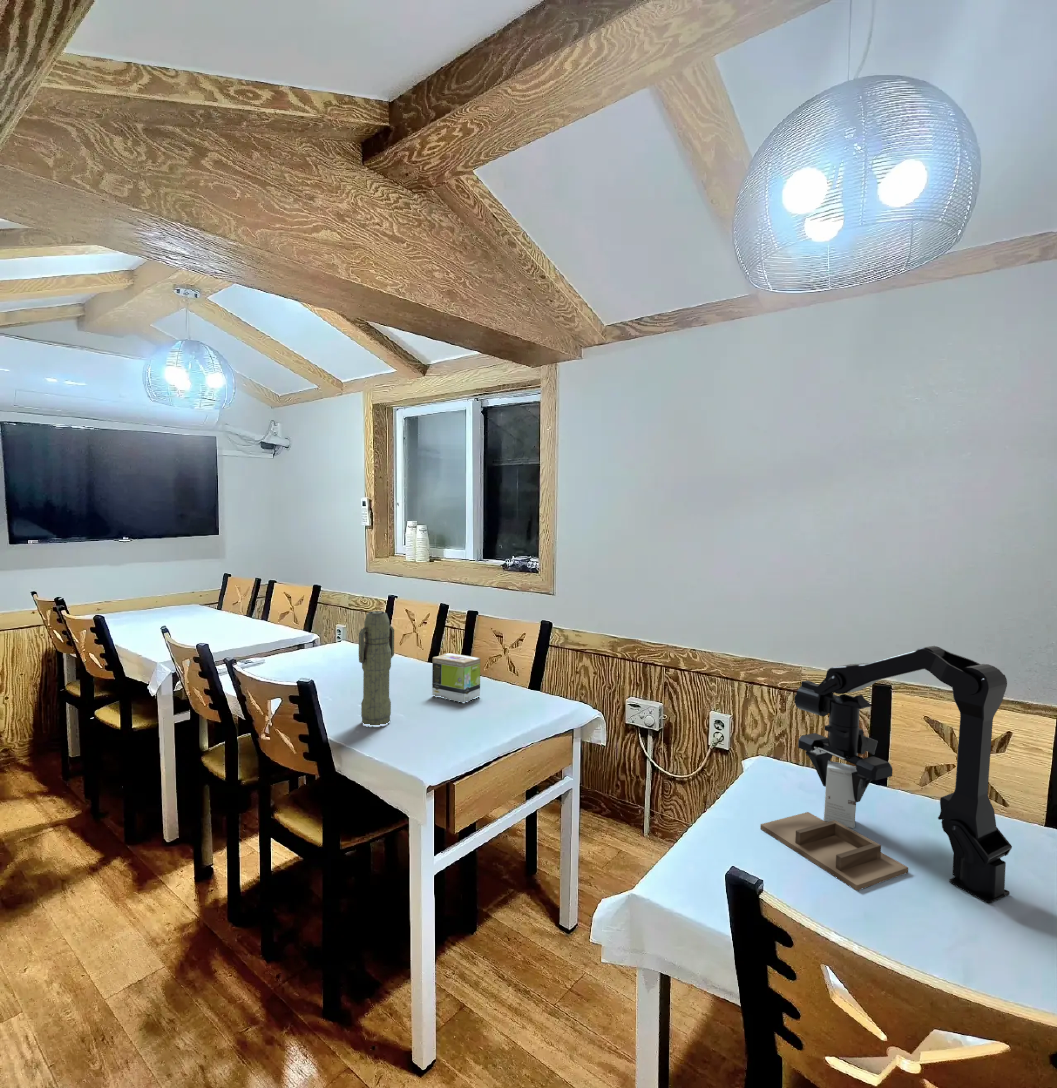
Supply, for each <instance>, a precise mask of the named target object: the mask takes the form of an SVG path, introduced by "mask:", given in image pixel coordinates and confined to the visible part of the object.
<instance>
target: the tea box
mask: <svg viewBox="0 0 1057 1088" xmlns="http://www.w3.org/2000/svg"><path fill="white" fill-rule="evenodd" d="M431 673H432V675H431V678H432V679H431V680H432V684H431V685H432V686H431V687H432V688H431V691H432V692H431V693H432V694H431V696H432V695H435V696H441V697H444V698H447V699H451V700H454V701H453V702H455V701H460V702H466V701H470V700H471V699H473V698H475V697H477V696H480V697H481V657H477V656H470V655H465V654H459V653H451V652H449V653H443V654H441V655H438V656H433V657H432V672H431ZM470 702H471V701H470Z"/></svg>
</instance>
